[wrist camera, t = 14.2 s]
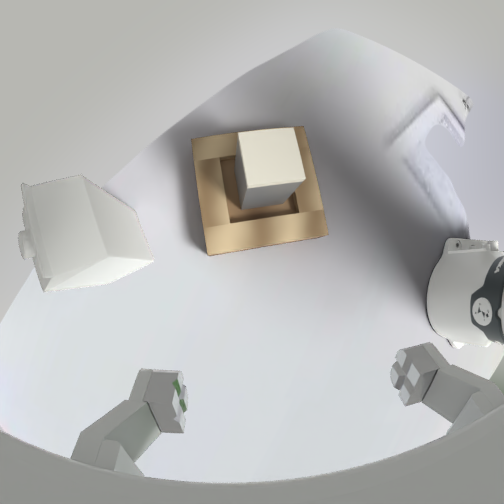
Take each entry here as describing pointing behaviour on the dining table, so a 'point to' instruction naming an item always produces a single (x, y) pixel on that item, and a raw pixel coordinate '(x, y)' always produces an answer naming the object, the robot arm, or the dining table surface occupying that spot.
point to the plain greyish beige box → (267, 167)
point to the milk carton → (80, 235)
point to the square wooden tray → (255, 219)
